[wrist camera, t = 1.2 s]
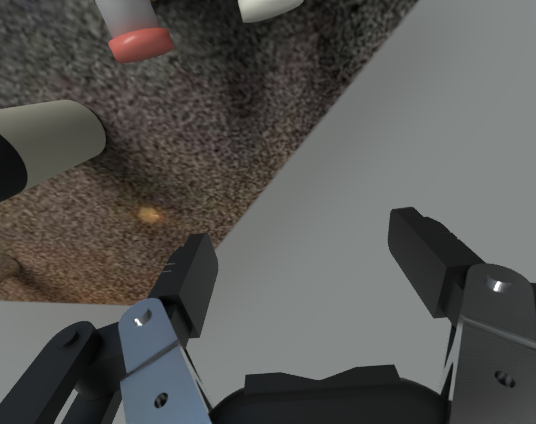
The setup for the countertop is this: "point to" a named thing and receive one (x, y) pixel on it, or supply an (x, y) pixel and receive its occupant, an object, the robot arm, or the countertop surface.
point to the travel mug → (45, 142)
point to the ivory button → (265, 8)
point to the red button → (134, 30)
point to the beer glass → (8, 267)
